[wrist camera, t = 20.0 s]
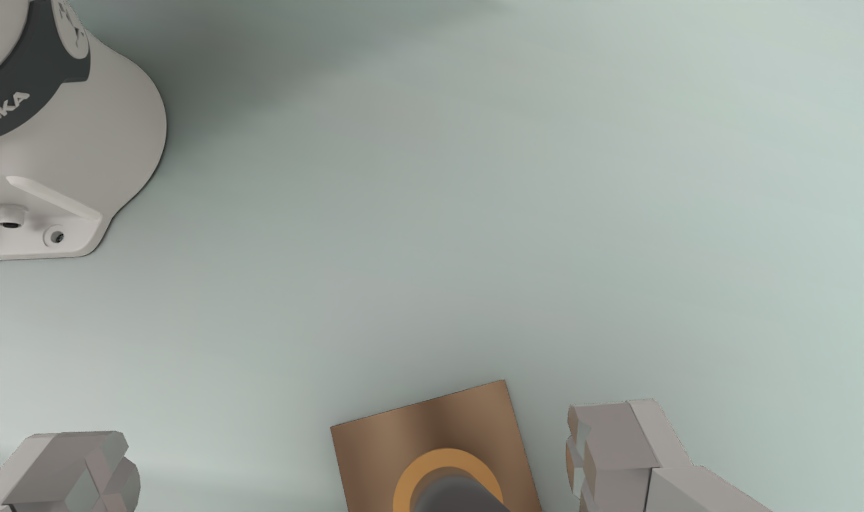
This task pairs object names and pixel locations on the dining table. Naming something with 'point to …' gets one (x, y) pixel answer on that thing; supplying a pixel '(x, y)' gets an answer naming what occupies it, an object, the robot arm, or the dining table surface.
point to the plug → (447, 484)
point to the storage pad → (434, 446)
